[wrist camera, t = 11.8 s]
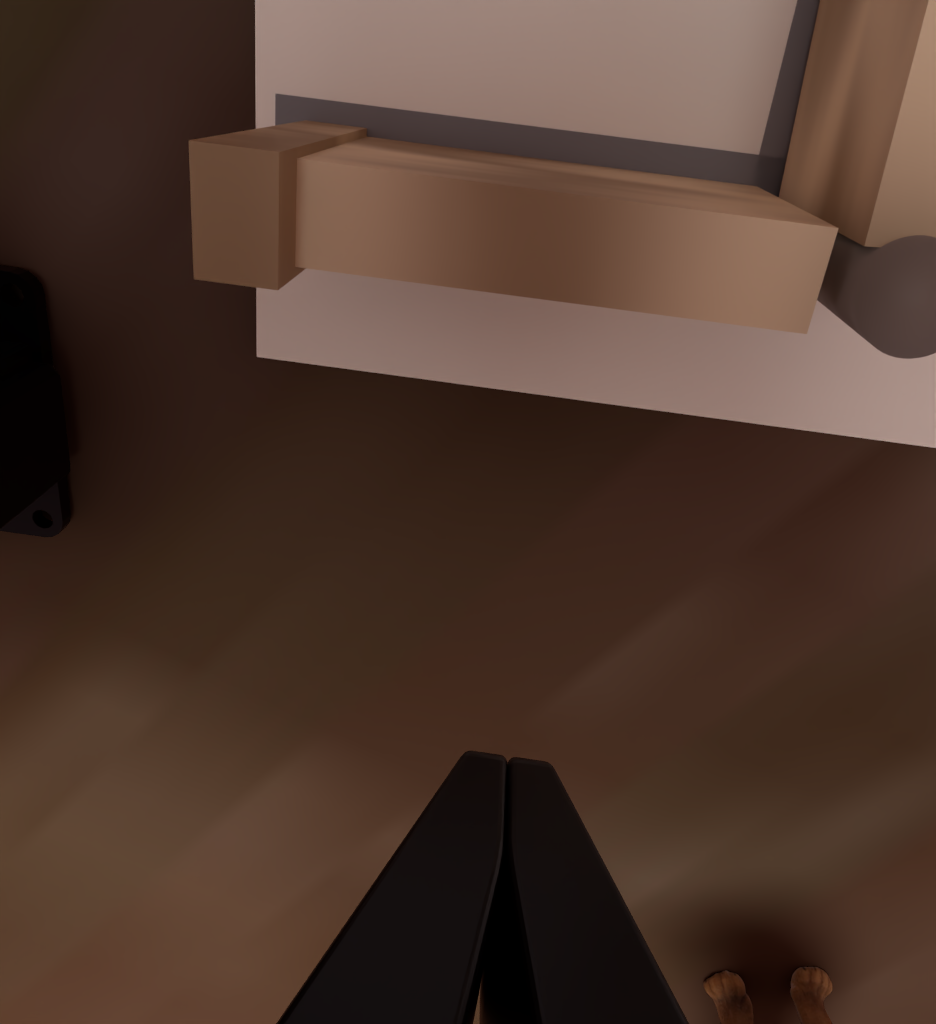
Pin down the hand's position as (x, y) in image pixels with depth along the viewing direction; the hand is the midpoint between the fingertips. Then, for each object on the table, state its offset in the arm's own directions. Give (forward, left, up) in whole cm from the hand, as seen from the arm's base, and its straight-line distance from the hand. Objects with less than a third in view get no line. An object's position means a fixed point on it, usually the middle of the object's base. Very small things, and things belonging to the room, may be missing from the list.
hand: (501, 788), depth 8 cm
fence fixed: (-1, +4, -12) cm, 13 cm away
